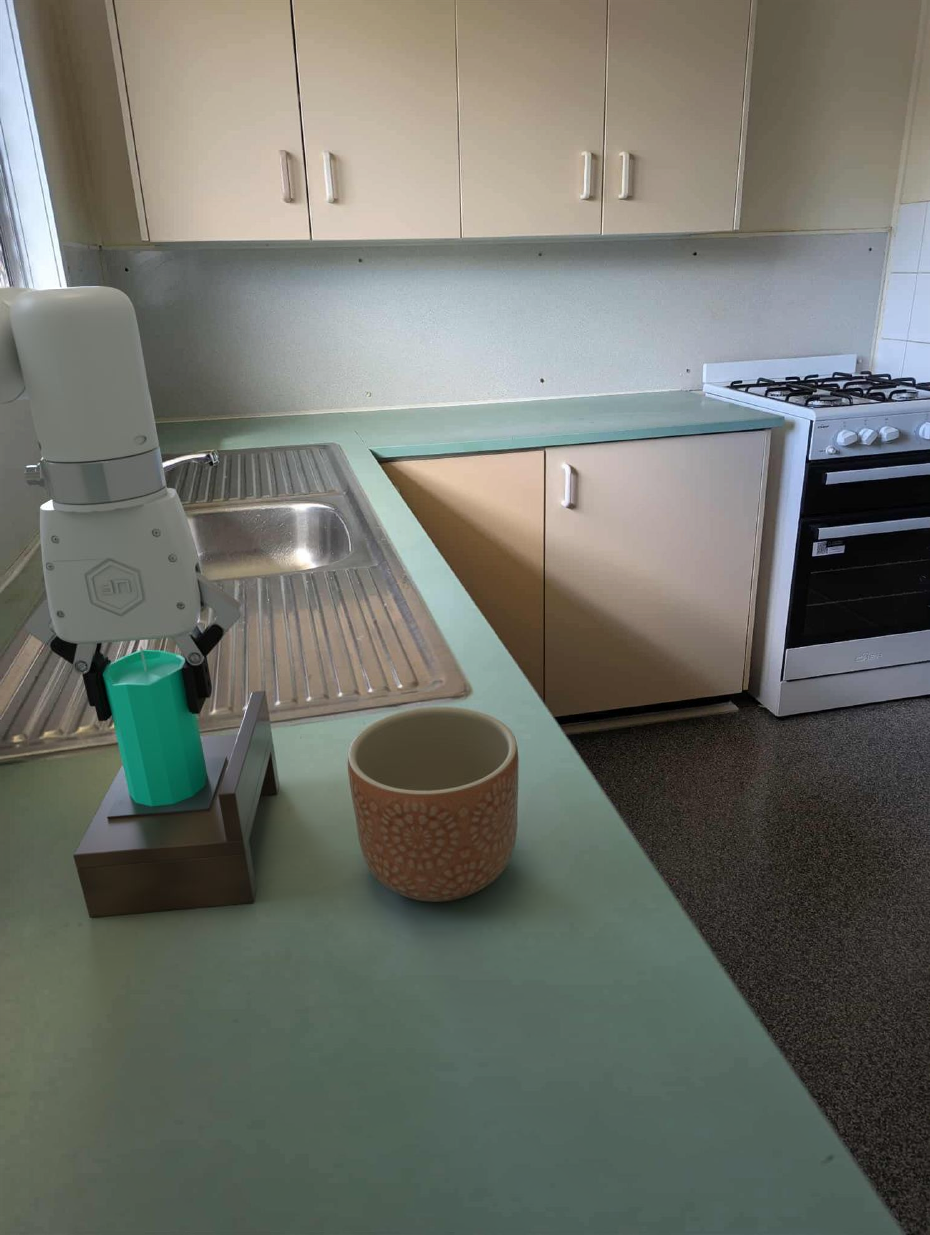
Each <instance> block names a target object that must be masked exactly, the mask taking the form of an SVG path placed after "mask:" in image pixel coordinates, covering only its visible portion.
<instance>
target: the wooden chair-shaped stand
mask: <svg viewBox="0 0 930 1235" xmlns="http://www.w3.org/2000/svg"><path fill="white" fill-rule="evenodd" d="M270 718H271V717H270V712H269V706H268V700H267V692H266V690H259V691H258V690H257V691H251V693H250V697H249V699H248V703H247V706H246V710H245V712H244V715H243V718H242V721H241V724H240V727H239V730H238V733H230V734H219V735H204V736H200V737H201V743H202V748H203V754H204V759H205V764H206V770H207V779H206V783H205V786H204V787H203V788H202V789H200V790H199V791H198V792H197V793H196V794H195V795H193V796H192V797H189V798H187V799H184V800H182V801H179V802H177V803H174V804H168V805H160V806H148V805H144V804H139V803H136V802H135V801H134V799H133V798H132V797H131V796H130V794H129V790H128V786H127V781H126V777H125V772H124V768H123V764H121V765H120V767H119V770H118V771H117V773H116V774H115V777H114V779H113V780H112V782H111V784H110V786H109V788H108V790H107V792H106V793H105V796H104V797H103V799H102V801H101V803H100V804H99V806H98V808H97V810H96V812H95V814H94V815H93V817H92V819H91V821H90V823H89V825H88V826H87V829H86V830H85V832H84V835H83V836H82V838H81V840H80V841H79V843H78V845H77V847H76V849H75V851H74V853H73V854H72V856H73V861H74V864H75V868H76V871H77V875H78V879H79V882H80V887H81V891H82V894H83V898H84V902H85V906H86V909H87V914H88V917H89V918H98V917H109V916H119V915H131V914H141V913H142V914H143V913H153V912H154V913H155V912H164V911H176V910H187V909H198V908H199V909H200V908H209V907H210V908H211V907H219V906H232V905H242V904H254V902H255V899H256V894H257V890H258V889H257V882H256V876H255V871H254V865H253V864H254V863H253V858H252V852H251V846H250V842H249V841H250V837H251V833H252V830H253V829H252V828H253V826H254V825H253V824H254V820H255V816H256V813H257V810H258V805H259V800H260V796H272V795H278V793H279V789H280V788H279V787H280V780H279V773H278V766H277V760H276V751H275V746H274V738H273V732H272V725H271V720H270Z"/></svg>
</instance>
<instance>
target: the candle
mask: <svg viewBox="0 0 930 1235" xmlns="http://www.w3.org/2000/svg"><path fill="white" fill-rule="evenodd" d="M184 663H185V658H184V656H182V655H181V654H178V653H174V652H171V651H167V650H161V649H160V650H159V649H143V646H140V647H139V650H136V651H134V652H132V653H129V654H126V655H124V656H121V657H119V658H118V659H115V660H114V661H111V663H110V664H108V665H107V666H106V668H105V671H104V673H103V679H104V683H105V688H106V692H107V697H108V701H109V706H110V710H111V718H112V719H111V720H112V722H113V727H114V732H115V736H116V741H117V745H118V750H119V754H120V759H121V763H122V764H123V768H124V772H125V777H126V781H127V786H128V790H129V794H130V796H131V797H132V798H133V799H134V801H135V802H136V803H139V804H144V805H148V806H160V805H168V804H174V803H177V802H179V801H182V800H184V799H187V798H189V797H192V796H193V795H195V794H196V793H197V792H198V791H199V790H200V789H202V788H203V787H204V786H205V783H206V779H207V770H206V764H205V759H204V754H203V748H202V743H201V737H202V736H201V732H200V726H199V722H198V716H197V715H198V714H192V712H189V708H188V703H187V698H186V692H185V687H184V682H183V676H182V666H183V664H184ZM122 764H121V765H122Z"/></svg>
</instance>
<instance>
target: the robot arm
mask: <svg viewBox="0 0 930 1235" xmlns="http://www.w3.org/2000/svg"><path fill="white" fill-rule="evenodd" d="M140 335H141V334H140V330H139V324H138V320H137V315H136V311H135V307H134V304H133V302H132V301H131V299H130V297H128V295H127V294H126V293H125V292H123V291H122V290H120V289H118V288H115V287H112V286H104V285H103V286H102V285H100V286H98V285H97V286H95V285H93V286H71V287H70V286H69V287H67V286H66V287H51V288H50V287H49V288H40V289H36V288H31V287H30V288H29V287H20V286H19V287H18V286H0V405H4V404H5V405H6V404H10V403H16V402H20V401H25V400H26V401H27V400H28V404H29V408H30V412H31V418H32V421H33V425H34V430H35V435H36V438H37V439H36V440H37V442H38V443H37V444H38V447H39V453H40V455H41V458H40V459H39V460H38V463H36V465H27V466H26V467H25V469H24V479H25V482H26V483H27V485H28V486H29V487H30V486H39V487H41V488H44V489H45V491H46V496H47V498H50V500H48V501H47V502H44V503H43V504H41V505H40V507H39V534H40V536H39V537H40V538H39V539H40V549H41V560H42V561H41V562H42V570H43V578H44V587H45V592H46V593H45V594H46V598H45V599H44V600H43V601H42V603H41V604H40V605H39V607H38V608H37V609H36V610H35V612H34V613H33V614H32V616H31V617H30V618H29V619H28V620H27V622H26V623H25V625H24V630H25V631H26V633H28V634H29V635H30V636H32V637H34V639H36V640H38V641H39V642H40V643H42V644H44V645H45V646H46V645H47V646H49V648H50V650H51V651H52V652H53V653H54V654H56V655H58V657H61V658H62V659H63V660H65V661H66V662H68V663H69V664H71V665H72V668H73V671H75V673H77V674H79V675H80V674H81V675H82V680H83V683H84V684H83V685H84V688H85V692H86V696H87V700H88V704H89V706H90V707H92V708H93V707H94V708H95V709H94V710H95V713H96V717H97V720H98V722H107V721H108V720H110V719H111V718H112V715H111V710H110V706H109V701H108V697H107V692H106V688H105V683H104V679H103V673H104V671H105V668H106V666H107V665H108V664H110V663H112V660H111V659H109V656H104V654H103V653H102V652H103V649H104V644H107V643H120V642H133V641H147V640H159V639H160V640H161V639H172V640H173V642H174V643H175V645H176V646H177V648H178V649H179V651H180V652H181V654H182V655H183V658H185V663H184V664H183V666H182V676H183V682H184V687H185V692H186V698H187V703H188V708H189V712H192V714H196V715H199V714H201V711H202V709H203V707H204V704H205V702H206V700H207V699H209V698H211V696H212V692H213V686H212V679H211V673H210V668H209V667H210V666H209V662H208V661H209V660H208V657H207V656H208V655H209V654H210V653H211V652H212V651H213V649H214V648H215V647H216V646H217V645H218V644H219V643H220V641H222V638H223V637H224V636H225V635H226V634H227V632H229V630H230V629H231V628H232V627H233V626H234V625H235V624H236V623H237V621H238V620H239V619H240V617H241V616H242V613H243V611H244V606H243V604H242V603H241V602H239V601H238V600H237V599H236V598H234V597H233V596H232V595H231V594H229V593H228V592H226V591H225V590H223V588H221V587H219V586H218V584H215V583H214V581H211V580H210V578H207V577H206V576H205V575H204V573H203V569H202V565H201V561H200V556H199V553H198V548H197V545H196V542H195V539H194V535H193V533H192V532H193V531H192V529H191V526H190V523H189V520H188V517H187V514H186V511H185V508H184V506H183V503H182V501H181V498H180V495H179V494H178V492H177V490H176V489H175V488H173V487H167V481H166V476H165V469H164V464H163V459H162V453H161V448H160V442H159V437H158V431H157V425H156V419H155V414H154V409H153V403H152V397H151V394H150V386H149V382H148V374H147V370H146V364H145V359H144V352H143V348H142V347H143V346H142V341H141V337H140ZM207 606H208V607H209V608H210V609H212V610H213V611H214V612H215V613H216V617H215V618H214V619H212V620H211V622H210V623H209V624H208V625H207V627H205V629H204V630H203V628H202V627H201V625H200V624H199V623H200V620H201V613H203V612H204V611H205V610H206V609H207Z"/></svg>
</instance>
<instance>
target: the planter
mask: <svg viewBox="0 0 930 1235" xmlns="http://www.w3.org/2000/svg"><path fill="white" fill-rule="evenodd" d="M519 761H520V760H519V748H518V744H517V739H516V736H515V735H514V733H513V731H512V730H511V729H510V728H509V727H508V726H507V725H506V724H505V723H504V722H502V721H501V720H500V719H497V718H495V717H494V716H492V715H489V714H488V713H485V712H481V711H477V710H474V709H469V708H464V707H455V706H427V707H420V708H413V709H408V710H403V711H400V712H397V713H393V714H391V715H387V716H385V717H383V718H381V719H378V720H376V721H374V722H373V723H370V724H369V725H368V726H366V727H365V728H364V729H362V730H361V731H360V732H359V733H358V734H357V735H356V736H355V737H354V739H353V740H352V741H351V744H350V746H349V748H348V752H347V773H348V775H347V776H348V780H349V788H350V793H351V800H352V806H353V811H354V812H353V813H354V818H355V824H356V830H357V831H356V832H357V838H358V842H359V847H360V849H361V853H362V857H363V859H364V862H365V863H366V865H367V868H368V869H369V871H370V872H371V873H372V875H373V876H374V877H375V878H376V880H377V881H379V882H380V883H381V884H382V885H383V886H385V887H386V888H387V889H389V890H391V891H392V892H394V893H396V894H398V895H401V896H403V897H405V898H408V899H412V900H416V901H422V902H430V903H434V902H435V903H436V902H437V903H438V902H450V901H456V900H459V899H462V898H465V897H469V896H470V895H471V896H472V895H473V894H475V893H477V892H479V891H481V890H483V889H484V888H486V887H487V886H488V885H490V884H491V883H492V882H494V881H495V880H497V878H498V877H500V875H501V874H502V873H503V871H505V869H506V867H507V865H508V864H509V862H510V861H511V859H512V856H513V854H514V851H515V847H516V842H517V834H518V811H519V810H518V809H519V808H518V807H519V804H518V803H519Z"/></svg>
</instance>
